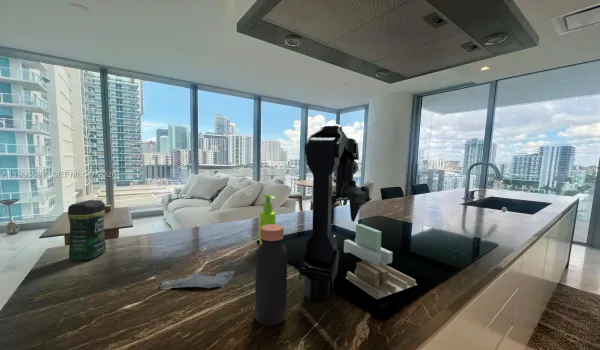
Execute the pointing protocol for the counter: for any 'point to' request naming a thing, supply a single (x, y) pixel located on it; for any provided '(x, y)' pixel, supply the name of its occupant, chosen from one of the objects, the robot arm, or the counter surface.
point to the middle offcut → (383, 273)
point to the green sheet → (368, 237)
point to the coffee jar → (86, 230)
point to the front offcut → (368, 274)
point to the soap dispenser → (267, 213)
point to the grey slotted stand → (368, 253)
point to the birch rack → (394, 283)
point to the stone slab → (199, 280)
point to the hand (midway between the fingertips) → (342, 222)
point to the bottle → (271, 276)
